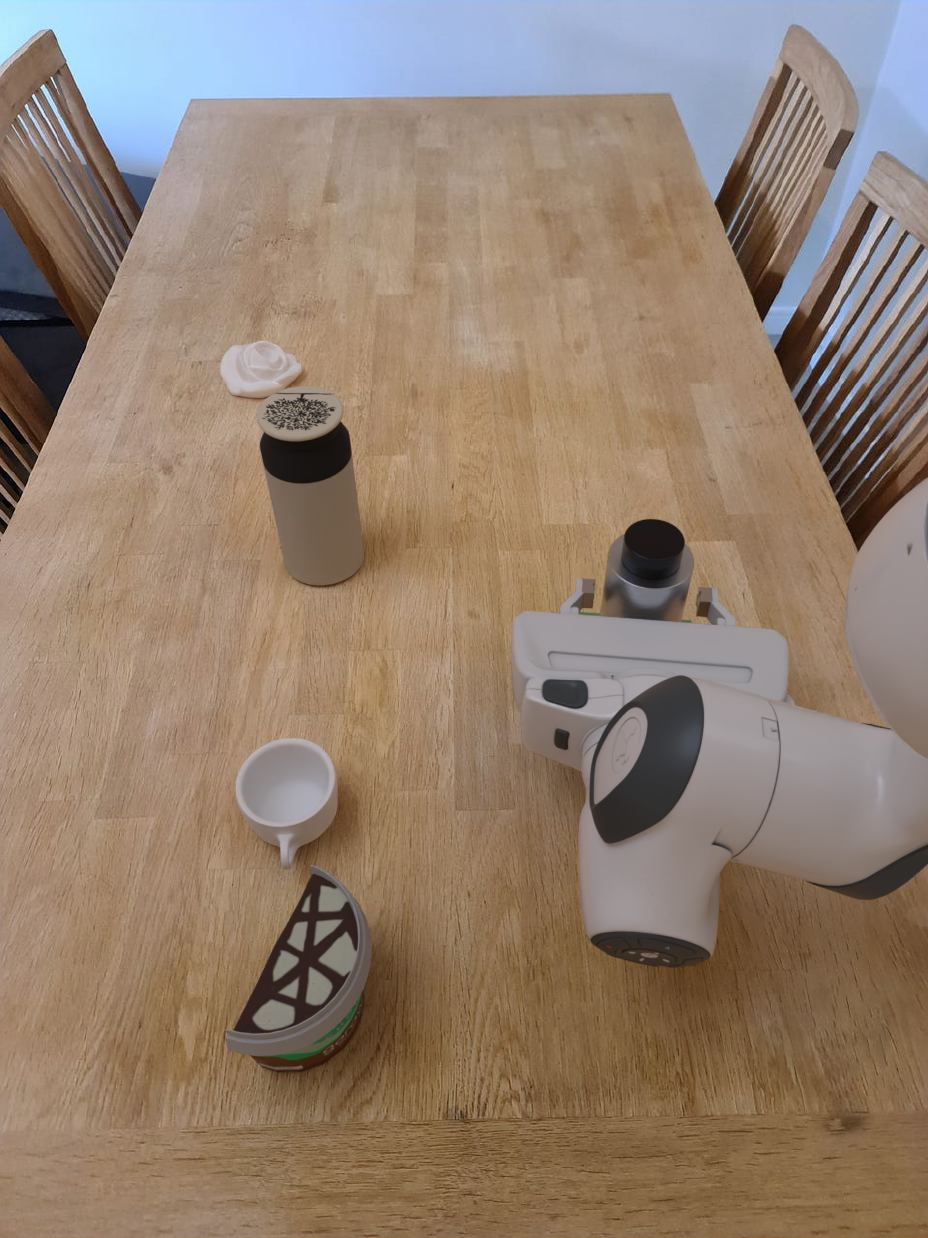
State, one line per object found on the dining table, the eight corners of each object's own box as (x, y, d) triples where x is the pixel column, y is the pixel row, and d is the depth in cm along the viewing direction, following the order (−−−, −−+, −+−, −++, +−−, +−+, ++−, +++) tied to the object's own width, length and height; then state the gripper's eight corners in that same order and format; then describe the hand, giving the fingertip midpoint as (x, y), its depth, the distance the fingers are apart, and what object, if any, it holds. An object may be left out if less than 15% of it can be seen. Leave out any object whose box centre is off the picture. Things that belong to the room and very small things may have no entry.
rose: (211, 328, 117) (292, 317, 119) (219, 360, 120) (297, 348, 122) (218, 375, 111) (303, 362, 112) (226, 407, 114) (308, 394, 115)
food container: (335, 1125, 63) (315, 1077, 55) (251, 1090, 64) (220, 1038, 57) (408, 950, 70) (399, 886, 63) (331, 922, 72) (314, 857, 64)
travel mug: (353, 592, 94) (331, 443, 80) (274, 582, 95) (240, 433, 81) (373, 536, 99) (356, 387, 86) (298, 527, 100) (269, 379, 87)
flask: (670, 634, 83) (697, 512, 73) (671, 693, 79) (700, 573, 69) (595, 628, 84) (611, 506, 73) (592, 686, 80) (609, 566, 69)
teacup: (250, 778, 80) (238, 741, 76) (344, 772, 80) (336, 734, 76) (241, 891, 73) (227, 857, 69) (343, 883, 74) (335, 849, 70)
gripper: (812, 719, 64) (790, 569, 73) (502, 693, 66) (518, 550, 75) (790, 771, 69) (771, 624, 78) (501, 746, 70) (516, 605, 79)
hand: (645, 588), depth 76 cm, fingers open, 8 cm apart
